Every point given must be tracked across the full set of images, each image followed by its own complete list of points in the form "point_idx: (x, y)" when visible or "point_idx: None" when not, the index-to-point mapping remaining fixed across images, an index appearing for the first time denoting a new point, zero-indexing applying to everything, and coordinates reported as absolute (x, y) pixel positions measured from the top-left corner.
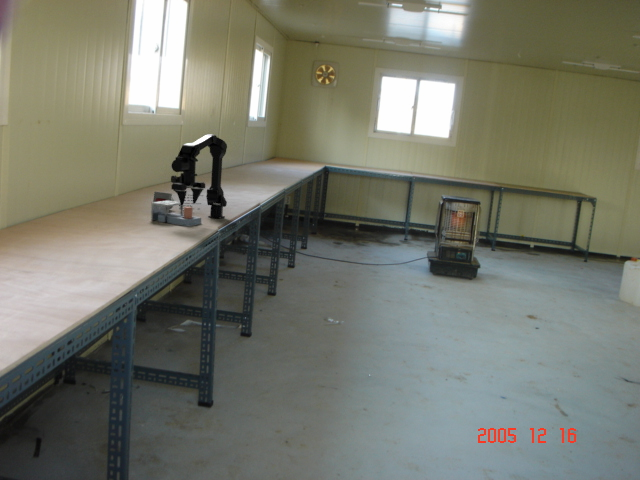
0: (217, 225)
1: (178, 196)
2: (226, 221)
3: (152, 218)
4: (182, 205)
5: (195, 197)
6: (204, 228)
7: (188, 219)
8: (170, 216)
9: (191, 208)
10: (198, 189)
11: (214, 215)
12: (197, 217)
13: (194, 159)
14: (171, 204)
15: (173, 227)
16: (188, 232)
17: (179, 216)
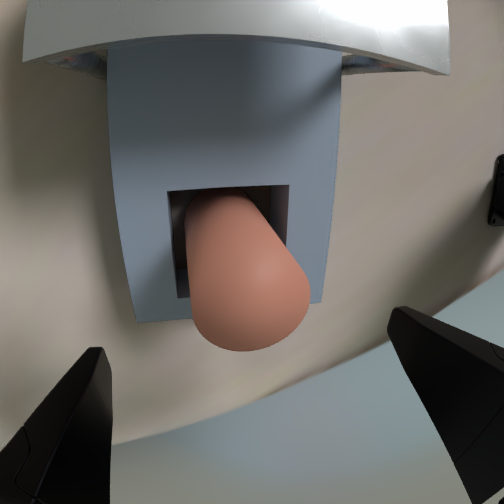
0: (322, 357)
1: (8, 448)
2: (447, 297)
3: None
4: (416, 69)
5: (432, 388)
6: (183, 382)
7: (159, 307)
8: (136, 79)
9: (248, 347)
10: (493, 491)
11: (500, 209)
12: (308, 280)
13: None
14: (150, 38)
15: (26, 260)
16: (36, 392)
17: (220, 137)
